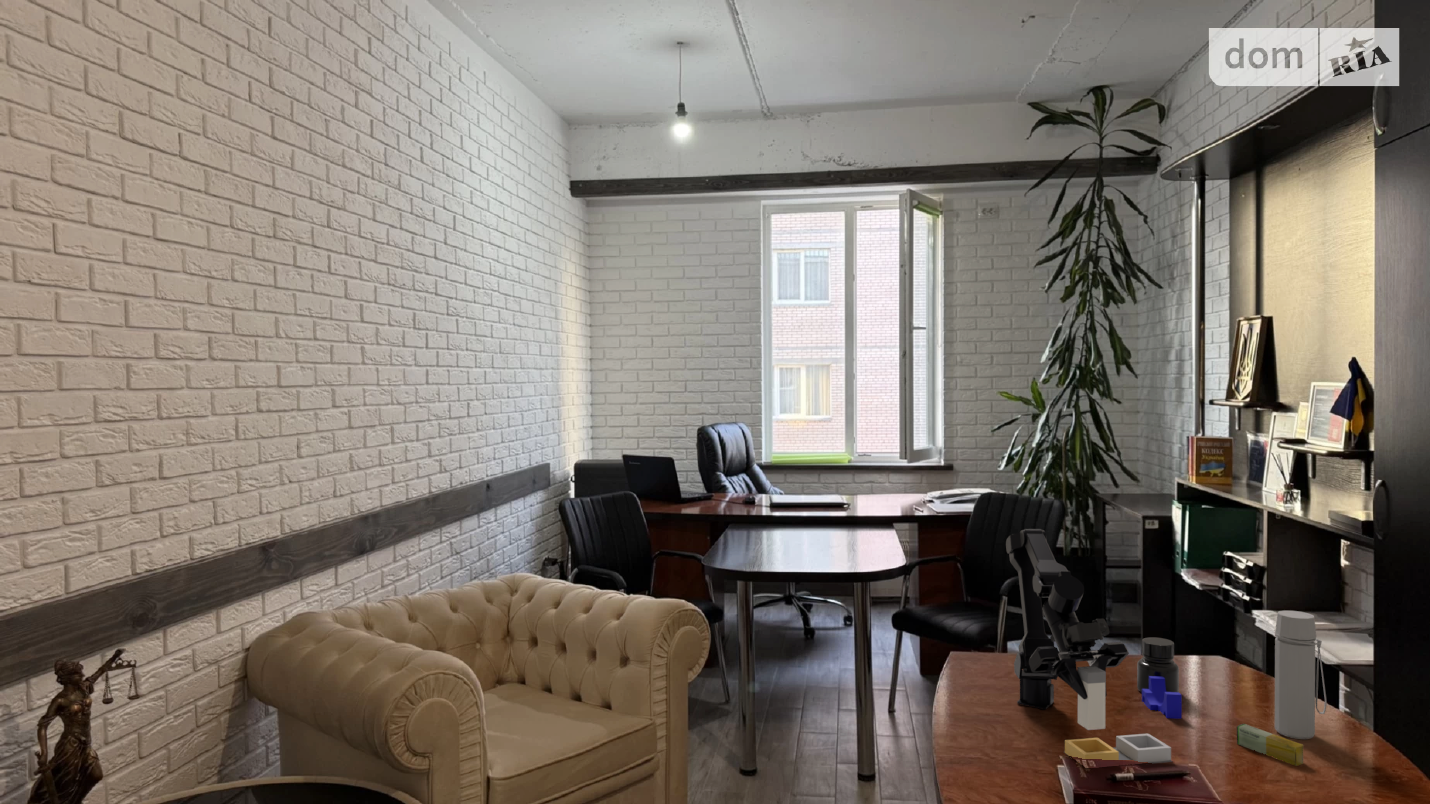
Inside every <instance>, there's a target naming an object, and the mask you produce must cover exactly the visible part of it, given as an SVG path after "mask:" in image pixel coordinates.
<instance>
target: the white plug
mask: <svg viewBox="0 0 1430 804" xmlns="http://www.w3.org/2000/svg"><path fill="white" fill-rule="evenodd" d="M1076 668H1077V671H1078V674H1079V676H1080V678H1081V680H1082V683H1083V685H1084V687H1085V690H1086V693H1087V696H1088V697H1087V699H1083V698H1082V697H1081V696H1080V695H1079V694H1078V693H1077V724H1078V725H1079V726H1081V727H1083V728H1084V729H1085V730H1087V731H1093V730H1095V731H1096V730H1105V729H1106V697H1105V682H1106V683H1107V679H1106V678H1107V671H1106V672H1105V671H1103V670H1101V669H1099V668H1098V667H1096V666H1090V665H1089V666H1076Z"/></svg>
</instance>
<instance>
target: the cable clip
mask: <svg viewBox="0 0 1430 804" xmlns="http://www.w3.org/2000/svg"><path fill="white" fill-rule="evenodd" d="M1182 697H1183V695H1182V693H1180V691H1179V692H1166V687H1165V678H1164V677H1161V676H1149V689H1142V692H1141V702H1142V703H1143V702H1144V703H1143V704H1144V705H1145V706H1146V708H1147V709H1148V710H1149V709H1150V711H1151V710H1155V711H1156V712H1161V714H1162V715H1165V718H1166V719H1176V720H1178V719H1182V715H1183V714H1182V713H1183V712H1182V707H1183V706H1182V704H1183V703H1182ZM1157 710H1158V711H1157ZM1155 711H1154V712H1155Z"/></svg>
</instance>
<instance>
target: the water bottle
mask: <svg viewBox="0 0 1430 804" xmlns="http://www.w3.org/2000/svg"><path fill="white" fill-rule="evenodd" d="M1315 619H1316V618H1315V615H1313V614H1311V613H1307V612H1304V611H1297V610H1279V611H1278V612H1277V613H1276V624H1275V625H1276V626H1275V631H1274V636H1275V639H1274V644H1275V645H1274V729H1275V731H1276V732H1277V733H1279V734H1280V735H1282V736H1285V737H1287V738H1289V737H1290V739H1295V740H1309V739H1313V738H1314V736H1315V733H1316V716H1315V715H1316V711H1317V713H1319V715H1325V713H1326V710H1327V694H1326V686H1325V678H1324V671H1323V664H1322V655H1321V645H1322V640H1321V639H1317V628H1316V621H1315ZM1316 648H1317V659H1316ZM1316 660H1317V661H1316ZM1319 662H1320V664H1319ZM1319 665H1320V670H1321V677H1322V678H1321V680H1322V687H1323V695H1324V697H1323V698H1324V707H1323V711H1320V710H1319V709H1318V698H1319V695H1318V694H1319V693H1318V691H1319Z"/></svg>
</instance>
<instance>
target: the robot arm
mask: <svg viewBox="0 0 1430 804" xmlns="http://www.w3.org/2000/svg"><path fill="white" fill-rule="evenodd" d="M1005 548H1006V551H1005V552H1006V553H1007V554H1009V555H1008V556H1009V561H1010V564H1011V565H1012V566H1013V568H1014V569H1015V570H1016V571H1017V574H1018V583H1019V591H1020V603H1021V612H1022V620H1023V621H1022V622H1023V631H1024V632H1023V633H1024V636H1023V637H1022V639H1021V640H1020V643H1019V644H1018V651H1017V654H1016V657H1015V660H1014V662H1013V667H1014V668H1013V669H1014V674H1015V675H1016V677H1017V678H1018V679H1019V699H1018V700H1017V701H1016V702H1017V704H1018V705H1020V706H1021V705H1022V706H1025V707H1030V708H1031V707H1032V708H1037V709H1040V710H1047V709H1048V708H1049V707H1050V706H1051V705H1052V704H1053V703H1054V702H1055V693H1054V692H1055V686H1054V684H1053V683H1052V680H1053V681H1056V680H1058V678H1059V679H1061V680H1062V681H1063V682H1064V683H1066V684H1067V685H1068V686H1069V687H1070V688H1071V689H1072V690H1073V691H1074V692H1076V693H1077V695H1078V694H1079V695H1080V696H1081V697H1082V698H1083V699H1087V697H1088V696H1087V693H1086V690H1085V687H1084V685H1083V683H1082V680H1081V678H1080V676H1079V674H1078V671H1077V662H1087V663H1088V665H1089V666H1096V667H1098V668H1099V669H1101V670H1103V671H1105V672H1106V673H1107V669H1108V668H1116V667H1119V665H1121V663H1122V662H1123V661H1124V660H1125V659H1126V658H1127V657H1128V655H1129V654H1130V653H1129V650H1128V648H1127V646H1126V645H1125V643H1123V642H1121V641H1115V642H1114V641H1112V642H1104V643H1103V644H1102V645H1101V647H1100V648H1099V649H1092V648H1093V647H1095V645H1096V644H1097V643H1096V641H1098V640H1100V641H1101V640H1104V637H1106V636H1109V634H1110V629H1109V625H1108V624H1107V622H1106V620H1105V618H1096V619H1093V620H1092V621H1091V622H1088V623H1087V622H1086V623H1084V622H1083V621H1079V619H1078V616H1077V615H1076V612H1075V611H1077V610H1078V608H1079V605H1080V603H1081V600H1082V598H1083V596H1084V592H1085V586H1084V584H1083V583H1082V581H1080V580H1079V579H1078V578H1077V577H1075V576H1073V575H1072V574H1071V571H1070V570H1068V569H1067V567H1066V566H1065V565H1063V564H1061V563H1058V562H1057V561H1056V559H1055V556H1054V554H1053V552H1052V550H1051V548H1050V545H1049V543H1048V541H1047V534H1046V531H1045V530H1044V529H1041V528H1024V529H1022V530H1020V531H1019V532H1017V533H1012V534H1010V535H1009V536H1008V537H1007V538H1006V541H1005ZM1042 598H1048V599H1046V600H1045V602H1044V603H1042ZM1044 618H1045V619H1046V622H1047V624H1048V626H1049V628H1050V632H1051V633H1052V634H1051V635H1050V637H1049V636H1048V634H1047V633H1046V630H1045V629H1046V628H1045V621H1044ZM1055 643H1056V646H1057V647H1056V646H1055ZM1107 695H1108V694H1107V681H1106V682H1105V698H1107Z"/></svg>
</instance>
